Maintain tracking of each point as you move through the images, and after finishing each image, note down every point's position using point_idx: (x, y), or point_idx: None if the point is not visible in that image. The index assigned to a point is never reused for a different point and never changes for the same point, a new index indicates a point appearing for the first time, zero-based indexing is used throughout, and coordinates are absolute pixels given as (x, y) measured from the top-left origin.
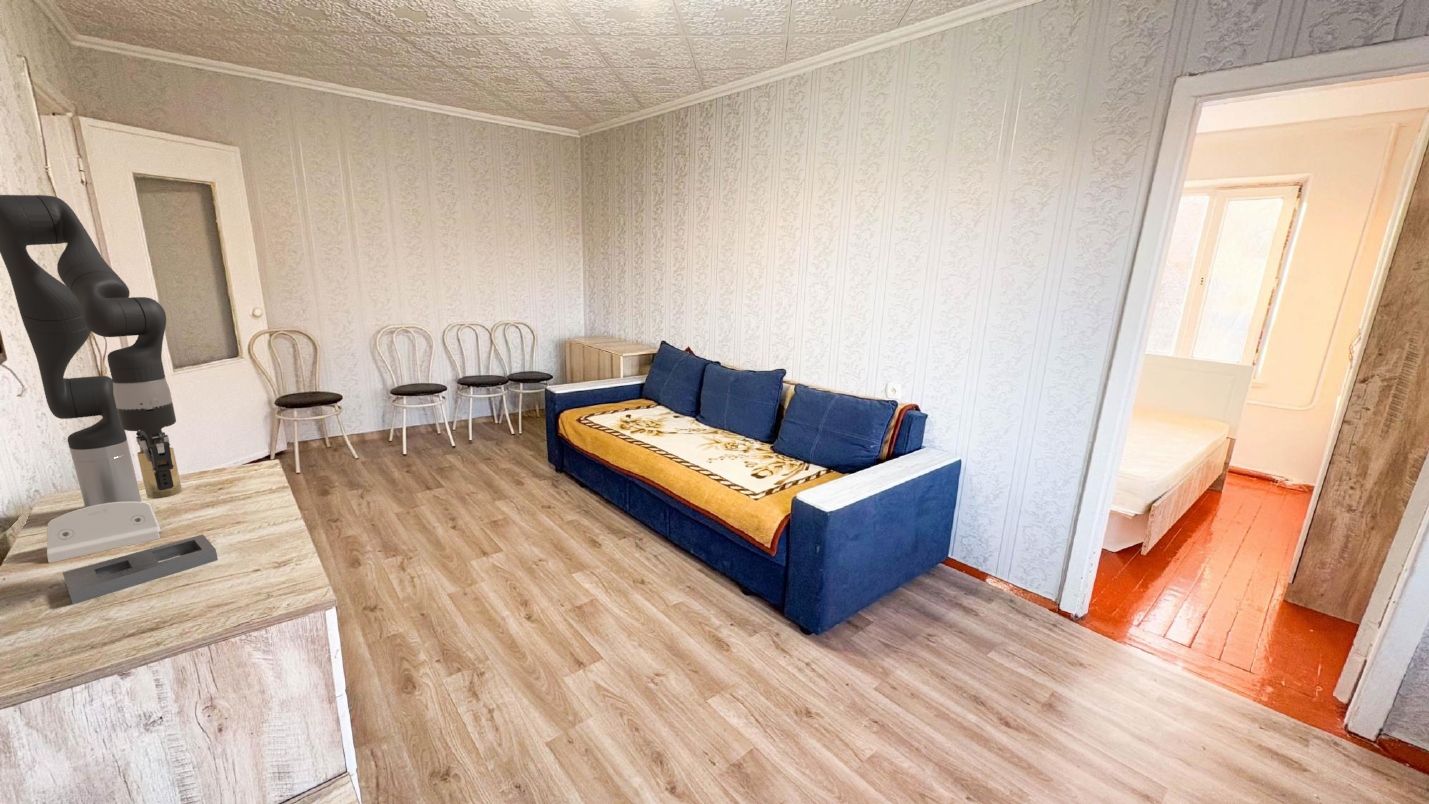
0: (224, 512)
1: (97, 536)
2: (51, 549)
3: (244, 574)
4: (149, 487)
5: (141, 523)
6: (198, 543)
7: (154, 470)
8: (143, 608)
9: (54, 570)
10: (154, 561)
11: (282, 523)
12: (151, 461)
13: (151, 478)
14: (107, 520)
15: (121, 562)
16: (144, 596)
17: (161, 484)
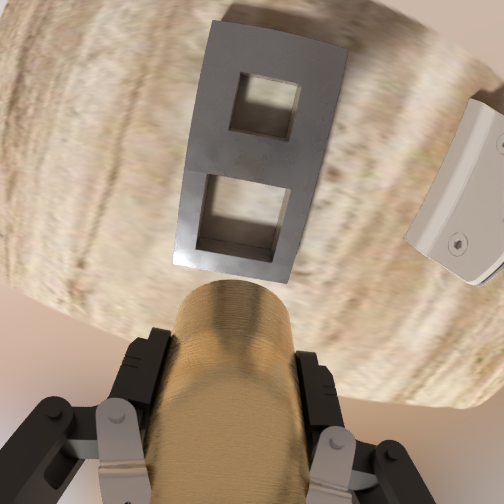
0: (401, 340)
1: (474, 176)
2: (492, 114)
3: (79, 247)
4: (197, 321)
5: (448, 242)
6: (240, 259)
7: (49, 403)
8: (81, 102)
9: (430, 81)
10: (220, 170)
11: None
12: (100, 464)
13: (175, 367)
14: (489, 208)
15: (292, 131)
16: (127, 114)
17: (127, 352)
